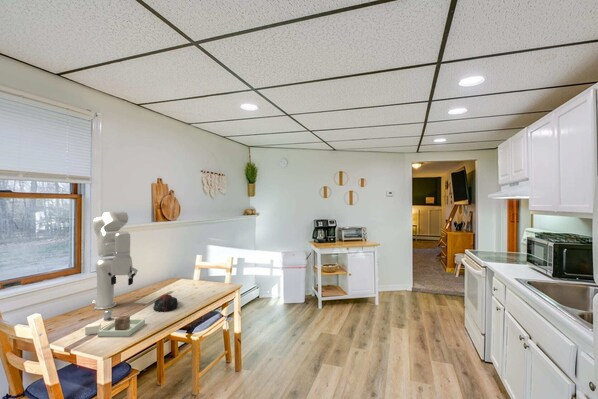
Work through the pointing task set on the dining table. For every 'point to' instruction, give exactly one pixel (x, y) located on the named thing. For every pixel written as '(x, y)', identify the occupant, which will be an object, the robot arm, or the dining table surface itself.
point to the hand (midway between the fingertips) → (122, 284)
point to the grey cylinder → (107, 315)
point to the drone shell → (165, 303)
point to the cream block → (92, 328)
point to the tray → (110, 331)
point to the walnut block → (122, 323)
